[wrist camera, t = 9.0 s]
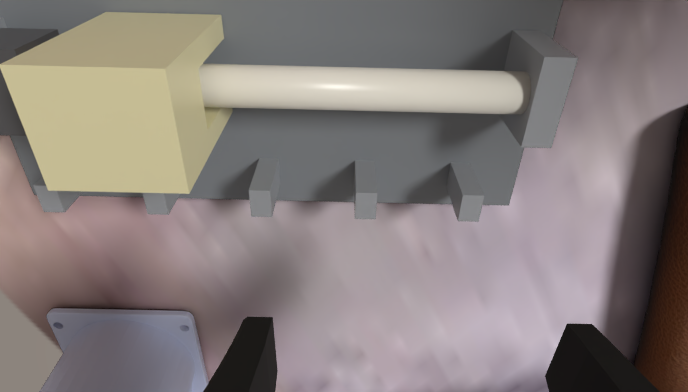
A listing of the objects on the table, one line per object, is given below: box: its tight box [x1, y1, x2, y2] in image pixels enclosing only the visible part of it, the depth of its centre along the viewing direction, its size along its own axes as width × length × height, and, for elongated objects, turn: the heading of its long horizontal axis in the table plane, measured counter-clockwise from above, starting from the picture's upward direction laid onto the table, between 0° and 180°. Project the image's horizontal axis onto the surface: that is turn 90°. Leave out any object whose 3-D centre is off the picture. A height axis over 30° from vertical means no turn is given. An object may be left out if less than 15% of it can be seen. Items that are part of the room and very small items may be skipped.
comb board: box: [0, 0, 578, 222], centre depth 16 cm, size 21×12×4 cm, turn 89°
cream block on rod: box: [0, 12, 233, 194], centre depth 15 cm, size 4×4×6 cm
